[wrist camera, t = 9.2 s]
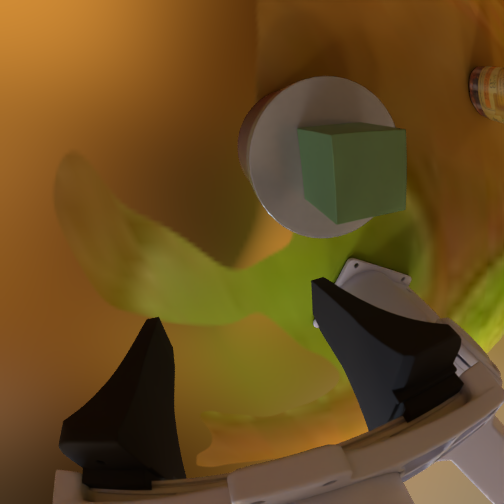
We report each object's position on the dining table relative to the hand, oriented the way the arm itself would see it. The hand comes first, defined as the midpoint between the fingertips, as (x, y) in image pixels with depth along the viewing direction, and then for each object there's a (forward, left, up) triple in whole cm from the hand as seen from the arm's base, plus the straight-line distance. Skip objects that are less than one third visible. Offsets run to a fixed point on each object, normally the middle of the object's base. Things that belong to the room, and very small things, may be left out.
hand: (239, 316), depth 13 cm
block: (-4, -8, -4) cm, 10 cm away
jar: (-4, -8, -10) cm, 14 cm away
